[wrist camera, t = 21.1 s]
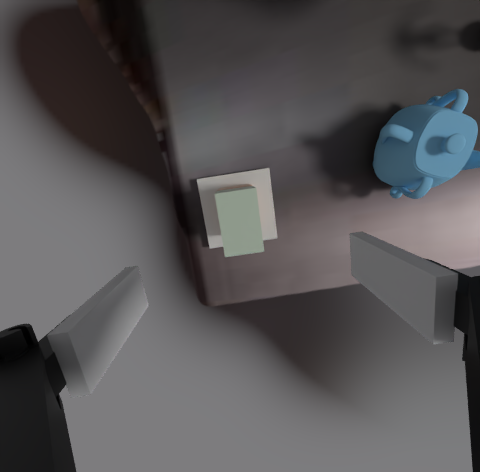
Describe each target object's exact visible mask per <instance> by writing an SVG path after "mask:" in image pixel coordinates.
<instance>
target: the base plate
mask: <svg viewBox="0 0 480 472" xmlns="http://www.w3.org/2000/svg"><path fill="white" fill-rule="evenodd" d="M197 184H198V189H199V194H200V200H201V205H202V210H203V215H204V221H205V226H206V231H207V237H208V242H209V247H210V248H216V247H223V242H222V236H221V230H220V224H219V218H218V212H217V206H216V200H215V193H216V192H217V190H218V189H219V188H225V187H231V186H238V185H244V184H251V185H252V186H254V187H256V190H257V198H258V206H259V214H260V222H261V230H262V238H263V240H269V239H275V238H277V230H276V222H275V214H274V205H273V197H272V188H271V180H270V171H269V168H265V169H259V170H252V171H246V172H240V173H233V174H227V175H220V176H214V177H208V178H201V179H197Z"/></svg>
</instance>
